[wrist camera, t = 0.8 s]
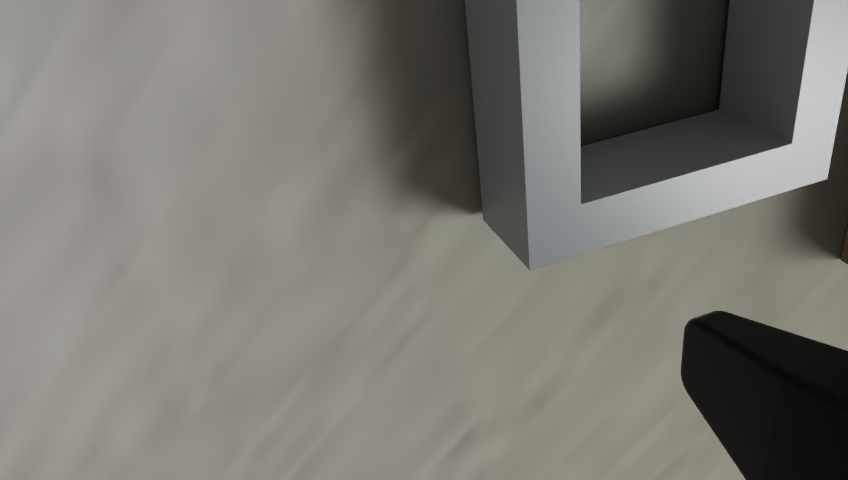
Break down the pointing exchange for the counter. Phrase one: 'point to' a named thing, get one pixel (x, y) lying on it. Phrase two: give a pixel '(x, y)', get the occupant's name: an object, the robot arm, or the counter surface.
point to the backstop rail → (845, 249)
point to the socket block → (650, 148)
